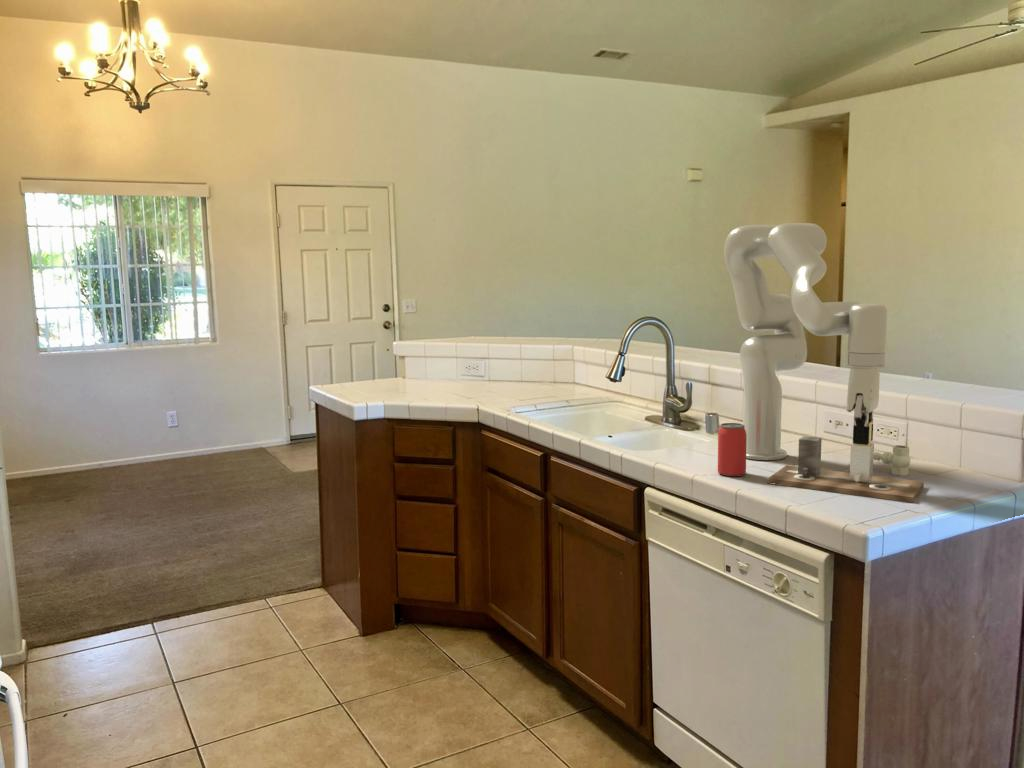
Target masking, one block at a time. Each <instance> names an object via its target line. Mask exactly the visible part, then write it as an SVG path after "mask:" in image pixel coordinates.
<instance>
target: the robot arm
mask: <svg viewBox="0 0 1024 768" xmlns="http://www.w3.org/2000/svg"><path fill="white" fill-rule="evenodd" d="M827 243H828V238H827V235H826V232H825V230H824V229H823V228H822V227H821V226H820V225H818V224H816V223H813V222H812V223H811V222H810V223H809V222H805V223H804V222H790V223H789V222H788V223H787V222H786V223H781V224H748V225H742V226H738V227H735V228H734V229H733V230H732V231H730V233H728V235H727V236H726V239H725V242H724V247H723V248H724V249H723V255H724V256H723V257H724V263H725V266H726V269H727V271H728V275H729V276H730V279H731V283H732V287H733V293H734V299H735V303H736V307H737V308H736V309H737V313H738V314H737V315H738V319H739V322H740V324H741V327H742V328H743V329H744V330H746V331H749V332H765V331H767V332H769V331H774V332H773V334H761V335H754V336H752V337H749V338H747V339H746V340H745V341H744V342H743V343H742V345H741V346H740V352H739V355H740V356H739V357H740V359H739V360H740V363H741V368H742V369H741V370H742V376H743V409H742V410H743V412H742V413H743V414H742V421H743V422H742V424H743V425H744V426H745V427H744V428H745V431H746V434H747V442H746V460H747V459H748V460H754V461H778V460H782V459H785V458H786V457H787V456H788V455H787V450H785V449H783V448H781V444H782V442H781V440H782V439H781V438H782V436H781V435H782V408H783V407H782V404H783V400H782V399H783V391H782V390H783V389H782V385H781V381H780V380H779V378H778V376H777V374H776V372H780V371H792V370H797V369H799V368H801V367H802V366H803V365H804V364H805V363H806V360H807V357H808V347H807V340H806V334H805V331H804V328H805V329H806V330H807V331H808V332H809V333H810V334H812V335H813V336H816V337H817V336H818V337H829V336H831V337H832V336H846V335H847V336H848V337H847V358H846V359H847V361H846V362H847V363H846V365H847V367H848V368H850V370H849V376H848V385H847V396H846V407H845V409H846V412H847V413H851V412H853V411H854V415H853V425H852V426H853V427H852V429H853V430H852V431H853V432H852V443H854V444H863V445H868V444H869V427H868V421H872V438H871V442H872V441H873V440H874V438H873V436H874V410H876V409H877V408H878V406H879V399H880V369H884V368H885V366H886V365H885V363H886V341H887V337H886V336H887V319H888V310H887V308H886V306H885V305H883V304H881V303H861V302H857V301H829V302H823V301H822V300H821V299H820V298H819V296H818V295H817V294H816V292H815V291H814V289H813V287H814V285H816V284H817V283H819V282H820V281H821V280H822V279H823V277H825V275H826V272H827V269H828V266H827V263H826V261H825V260H824V259H823V257H822V256H821V255H822V254H823V253H824V252H825V250H826V248H827ZM755 259H775V260H776V261H777V262H778V264H779V265H780V266H781V268H782V269H783V271H784V272H785V273H786V275H787V277H788V278H789V280H790V281H791V282H792V286H791V290H790V295H788V294H785V293H771V292H770V290H769V287H768V282H767V278H766V274H765V272H764V271H763V269H762V268H761V267H760V266H759V264H757V262H755Z"/></svg>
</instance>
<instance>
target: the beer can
mask: <svg viewBox="0 0 1024 768" xmlns="http://www.w3.org/2000/svg"><path fill="white" fill-rule="evenodd" d="M719 425H720V427H719V429H718V433H717V472H718V473H720V474H719V475H721V474H722V475H721V476H724V475H726V476H725V477H729V476H738V477H743V476H744V475H745V474H746V473H747V458H746V442H747V434H746V431H745V428H744V427H745V426H744V425H743V423H738V422H724V423H721V424H719Z"/></svg>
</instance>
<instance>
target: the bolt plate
mask: <svg viewBox="0 0 1024 768" xmlns="http://www.w3.org/2000/svg"><path fill="white" fill-rule="evenodd" d="M822 439H823V438H822V437H818V436H817V437H816V436H807V435H806V436H805V435H803V436H802V437H800V438H799V439H798V454H797V455H798V461H797V466H795V465H794V466H793V465H785V466H782V468H780V469H779V470H778V471H776V472H775V473H773V474H772V475H770V476H769V477H767V484H769V483H775V484H774V485H777V484H781V485H780V486H784V485H787V486H786V487H792V486H793V487H792V488H801V489H806V490H807V489H808V490H815V491H823V492H828V493H829V492H830V493H835V494H836V493H837V494H844V495H845V494H846V495H852V496H859V497H860V496H861V497H866V498H873V499H875V498H876V499H882V500H889V501H894V502H895V501H897V502H903V503H904V502H905V503H912V504H913V503H914V502H915V501H916V499H917V497H918V496H919V494H920V493H921V491H922V490H923V489H924V485H925V484H924V483H925V481H920V480H912V479H904V478H903V479H902V478H896V477H895V478H894V477H889V476H888V477H887V476H878V475H877V476H876V475H873V478H872V479H871V480H870V481H869V482H865V481H859V483H856V482H855V480H850V472H845V471H839V470H838V471H836V470H828V469H821V468H822V467H821V465H822Z"/></svg>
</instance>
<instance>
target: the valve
mask: <svg viewBox="0 0 1024 768" xmlns="http://www.w3.org/2000/svg"><path fill="white" fill-rule="evenodd" d="M873 461H882V464H884V465H890V464H891V474H892V475H896V476H908V475H909V466H910V465H911V457H910V446H908V445H902V444H901V445H900V444H898V445H897V444H896V445H895V444H894V445H892V452H890V451H884V453H881V452H876V451H874V459H873Z"/></svg>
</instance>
